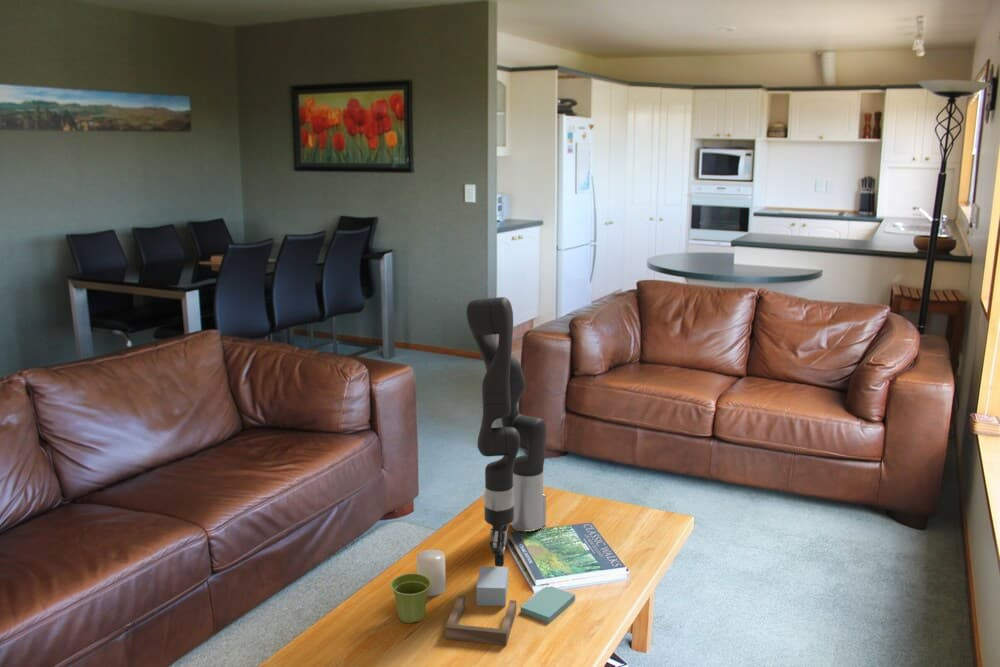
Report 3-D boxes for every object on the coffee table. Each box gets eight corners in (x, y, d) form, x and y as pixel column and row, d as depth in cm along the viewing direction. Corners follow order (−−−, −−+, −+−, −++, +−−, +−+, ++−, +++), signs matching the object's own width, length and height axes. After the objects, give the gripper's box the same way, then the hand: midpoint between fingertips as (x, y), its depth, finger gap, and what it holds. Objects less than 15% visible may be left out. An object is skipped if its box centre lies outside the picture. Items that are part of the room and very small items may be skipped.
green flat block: (547, 592, 207) (547, 584, 207) (575, 601, 203) (575, 594, 202) (520, 614, 198) (520, 606, 197) (549, 625, 193) (549, 617, 193)
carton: (480, 584, 210) (480, 566, 209) (508, 585, 210) (507, 567, 209) (476, 606, 201) (476, 587, 200) (505, 607, 200) (505, 588, 199)
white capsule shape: (436, 578, 213) (435, 546, 211) (451, 590, 207) (450, 557, 205) (412, 587, 209) (411, 554, 207) (426, 599, 203) (425, 566, 201)
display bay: (458, 606, 200) (458, 595, 199) (516, 612, 198) (516, 600, 197) (445, 639, 187) (445, 627, 186) (506, 645, 185) (506, 633, 184)
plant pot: (438, 609, 199) (437, 576, 197) (421, 631, 190) (420, 597, 188) (402, 602, 202) (401, 570, 200) (385, 623, 193) (383, 590, 191)
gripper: (489, 491, 217) (490, 551, 221) (479, 512, 205) (480, 576, 209) (518, 493, 216) (518, 553, 220) (509, 515, 203) (509, 579, 207)
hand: (499, 564), depth 214 cm, fingers closed
